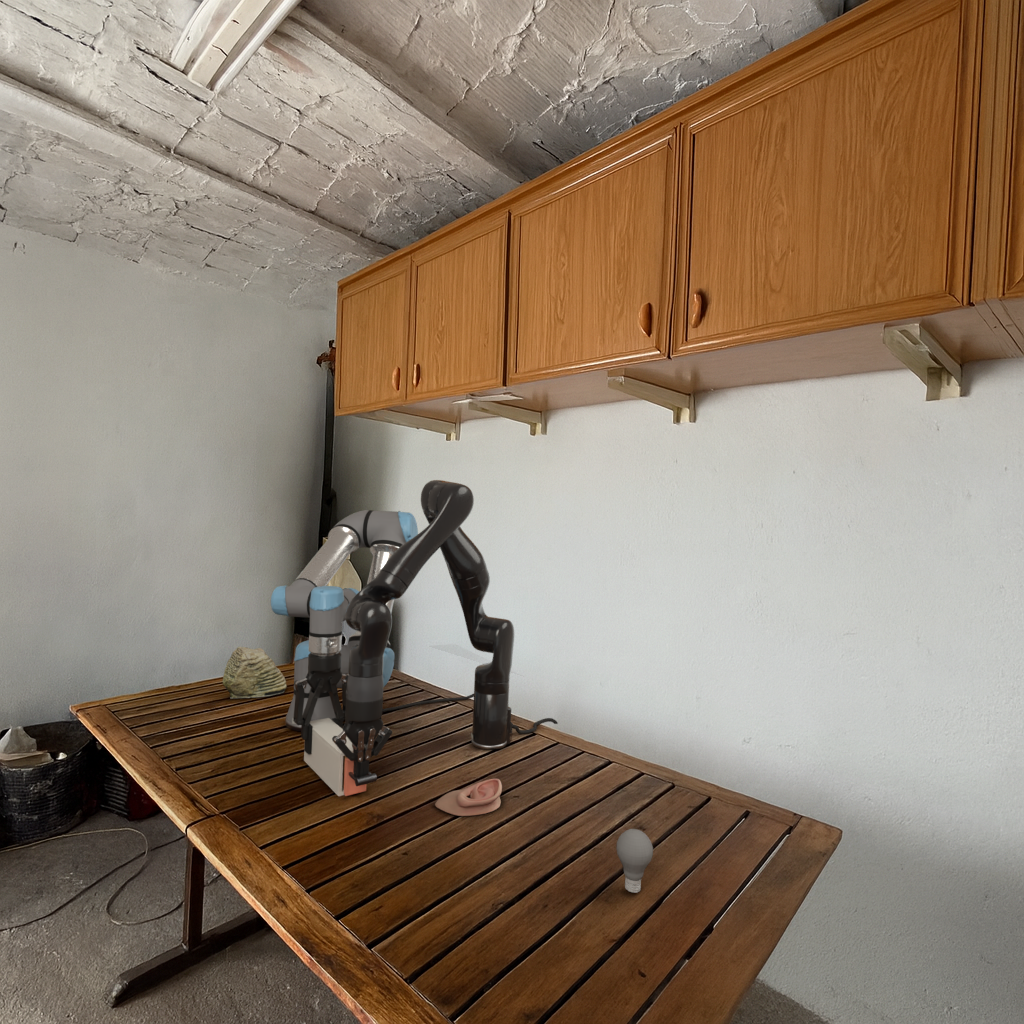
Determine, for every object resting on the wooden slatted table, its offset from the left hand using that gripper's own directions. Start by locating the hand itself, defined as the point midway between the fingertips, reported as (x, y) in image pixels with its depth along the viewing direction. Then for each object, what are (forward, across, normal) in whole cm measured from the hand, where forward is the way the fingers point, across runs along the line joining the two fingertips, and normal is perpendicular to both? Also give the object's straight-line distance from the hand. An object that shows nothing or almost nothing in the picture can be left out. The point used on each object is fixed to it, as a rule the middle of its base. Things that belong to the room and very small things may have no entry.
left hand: (321, 749), depth 150 cm
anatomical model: (+3, +18, -36) cm, 40 cm away
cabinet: (+3, 0, -7) cm, 8 cm away
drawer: (+2, 0, -13) cm, 13 cm away
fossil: (+3, +1, +59) cm, 59 cm away
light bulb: (+3, +25, -75) cm, 79 cm away
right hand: (-2, 0, -23) cm, 23 cm away
